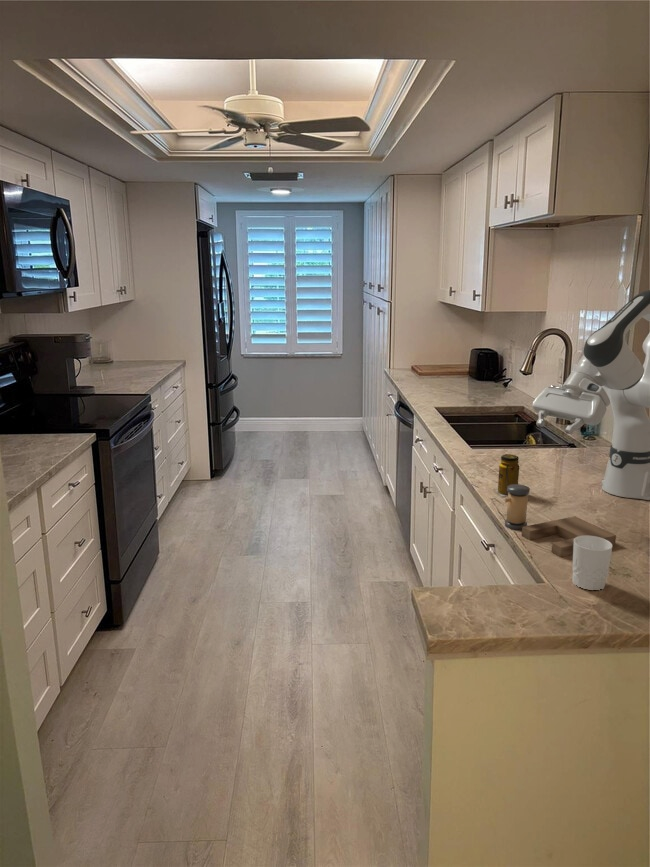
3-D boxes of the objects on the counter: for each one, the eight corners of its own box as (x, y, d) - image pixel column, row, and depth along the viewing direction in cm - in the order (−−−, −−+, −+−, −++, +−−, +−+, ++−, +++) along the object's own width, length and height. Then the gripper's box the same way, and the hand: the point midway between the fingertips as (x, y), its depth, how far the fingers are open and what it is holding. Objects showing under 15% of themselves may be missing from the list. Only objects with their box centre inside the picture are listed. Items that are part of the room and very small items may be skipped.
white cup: (615, 589, 137) (620, 547, 134) (585, 595, 135) (589, 552, 132) (591, 573, 144) (595, 533, 142) (562, 578, 142) (566, 537, 140)
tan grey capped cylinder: (517, 520, 175) (519, 483, 173) (531, 527, 170) (534, 489, 167) (496, 524, 173) (499, 486, 170) (510, 532, 167) (513, 493, 165)
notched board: (574, 524, 172) (574, 516, 171) (615, 544, 159) (616, 535, 159) (521, 535, 165) (522, 526, 164) (560, 557, 153) (561, 547, 152)
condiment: (493, 489, 200) (495, 453, 197) (518, 488, 201) (521, 452, 198) (501, 497, 193) (504, 460, 190) (528, 496, 194) (530, 459, 191)
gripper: (543, 377, 181) (518, 415, 178) (608, 388, 164) (581, 429, 161) (552, 391, 184) (527, 428, 181) (616, 403, 167) (589, 444, 165)
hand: (553, 429), depth 171 cm, fingers open, 8 cm apart
